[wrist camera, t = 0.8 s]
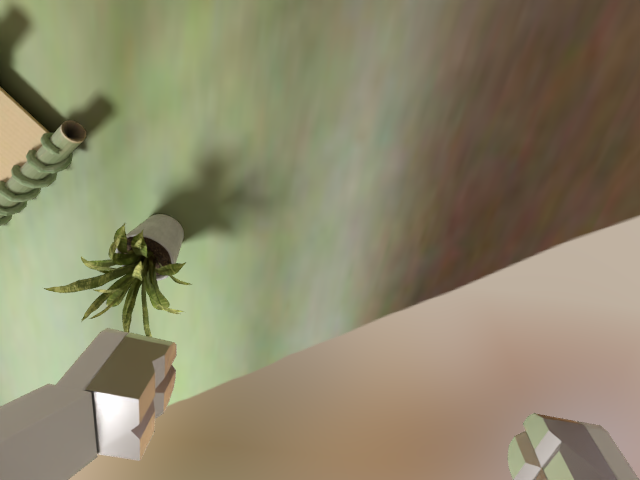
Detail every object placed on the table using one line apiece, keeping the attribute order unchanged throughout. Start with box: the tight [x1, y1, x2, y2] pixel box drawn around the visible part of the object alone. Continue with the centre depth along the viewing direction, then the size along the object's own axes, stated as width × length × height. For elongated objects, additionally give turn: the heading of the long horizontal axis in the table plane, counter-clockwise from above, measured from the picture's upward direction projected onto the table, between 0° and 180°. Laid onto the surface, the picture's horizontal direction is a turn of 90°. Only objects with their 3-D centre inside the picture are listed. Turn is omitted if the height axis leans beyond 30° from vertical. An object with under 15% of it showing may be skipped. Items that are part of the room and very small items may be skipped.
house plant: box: [44, 214, 192, 337], centre depth 47 cm, size 14×14×16 cm
